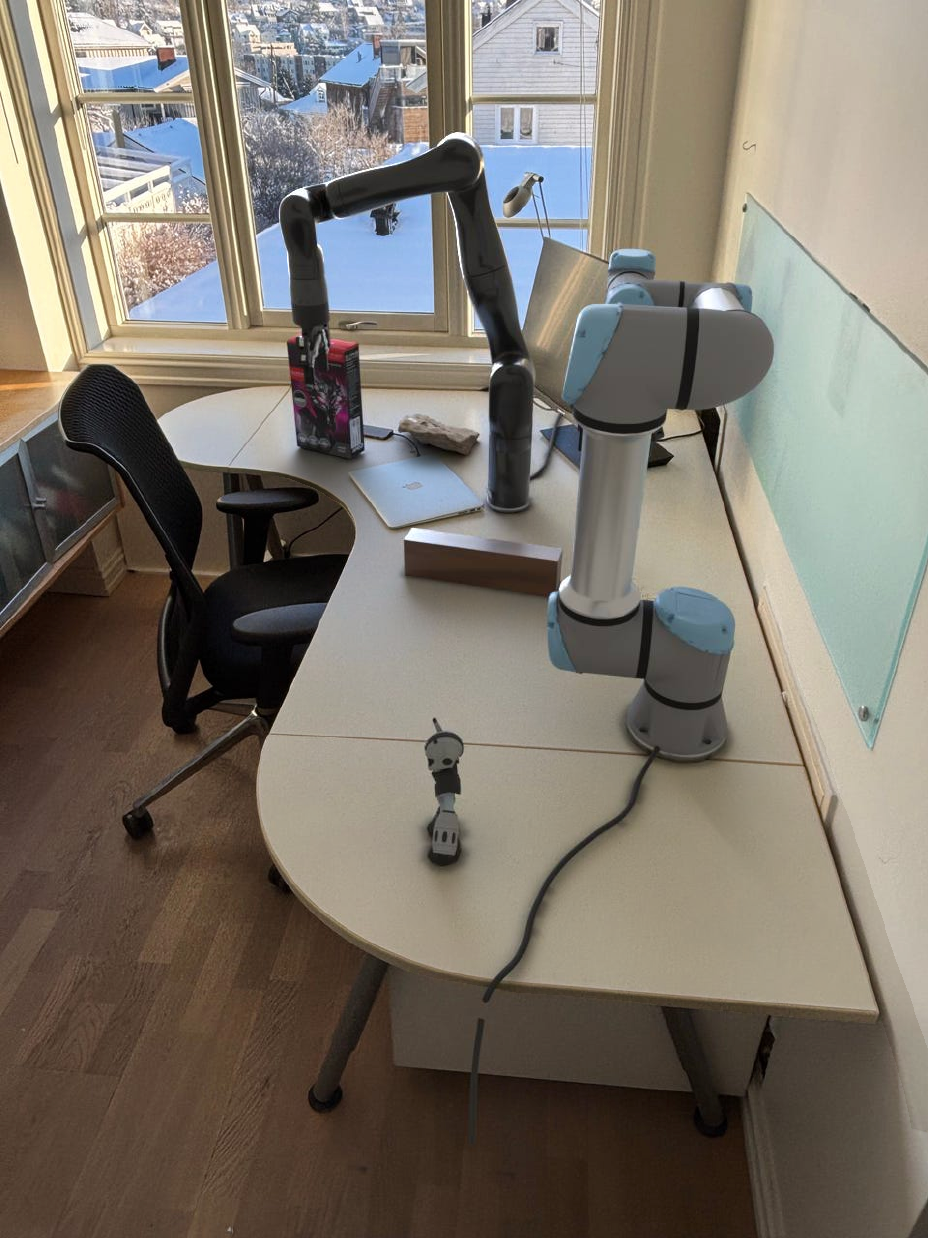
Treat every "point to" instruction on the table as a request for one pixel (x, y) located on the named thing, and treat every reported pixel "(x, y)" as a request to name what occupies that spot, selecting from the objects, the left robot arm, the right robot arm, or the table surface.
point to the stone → (438, 433)
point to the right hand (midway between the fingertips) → (611, 460)
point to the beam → (483, 562)
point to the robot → (444, 794)
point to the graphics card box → (329, 401)
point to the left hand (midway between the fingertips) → (317, 377)
